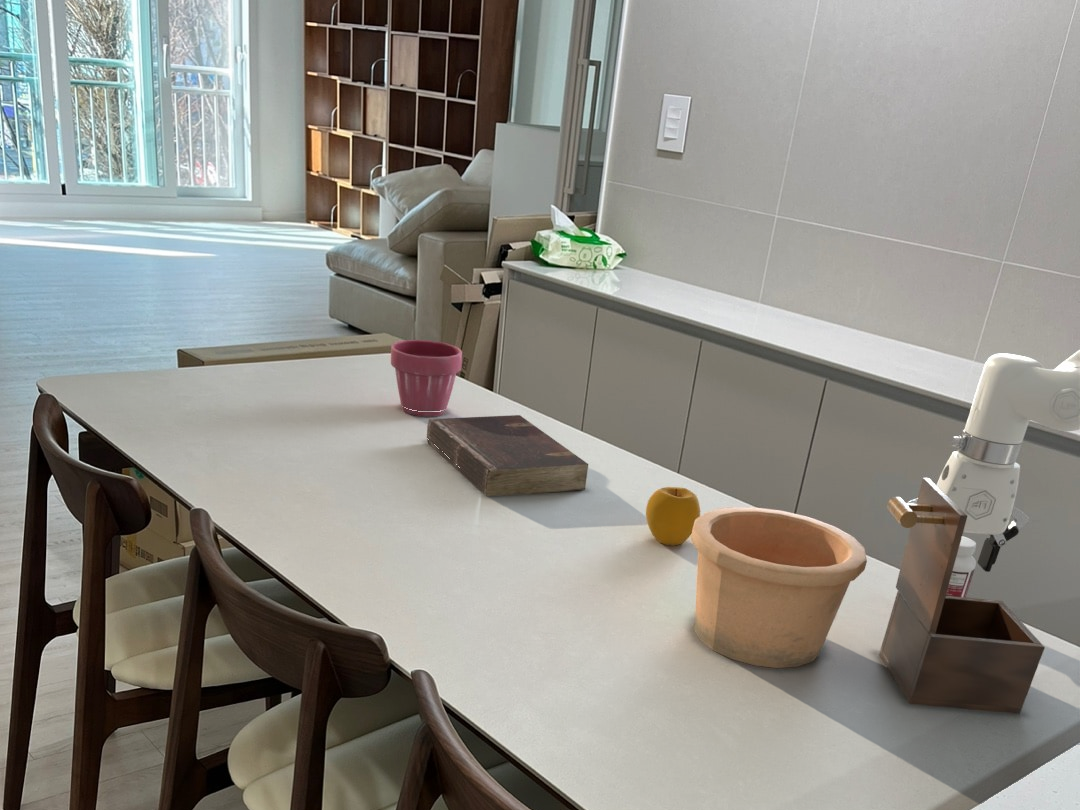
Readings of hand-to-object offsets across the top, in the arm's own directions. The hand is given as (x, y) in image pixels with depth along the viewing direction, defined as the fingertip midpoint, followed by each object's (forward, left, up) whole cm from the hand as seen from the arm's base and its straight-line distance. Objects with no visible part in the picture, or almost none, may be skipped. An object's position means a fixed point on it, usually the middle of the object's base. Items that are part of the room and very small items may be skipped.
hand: (950, 564), depth 152 cm
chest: (+7, +23, -7) cm, 25 cm away
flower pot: (+82, -77, -7) cm, 112 cm away
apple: (+38, -17, -7) cm, 42 cm away
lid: (+14, +23, +10) cm, 29 cm away
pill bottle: (0, 0, -7) cm, 7 cm away
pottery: (+30, +15, -7) cm, 34 cm away
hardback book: (+65, -46, -7) cm, 80 cm away
